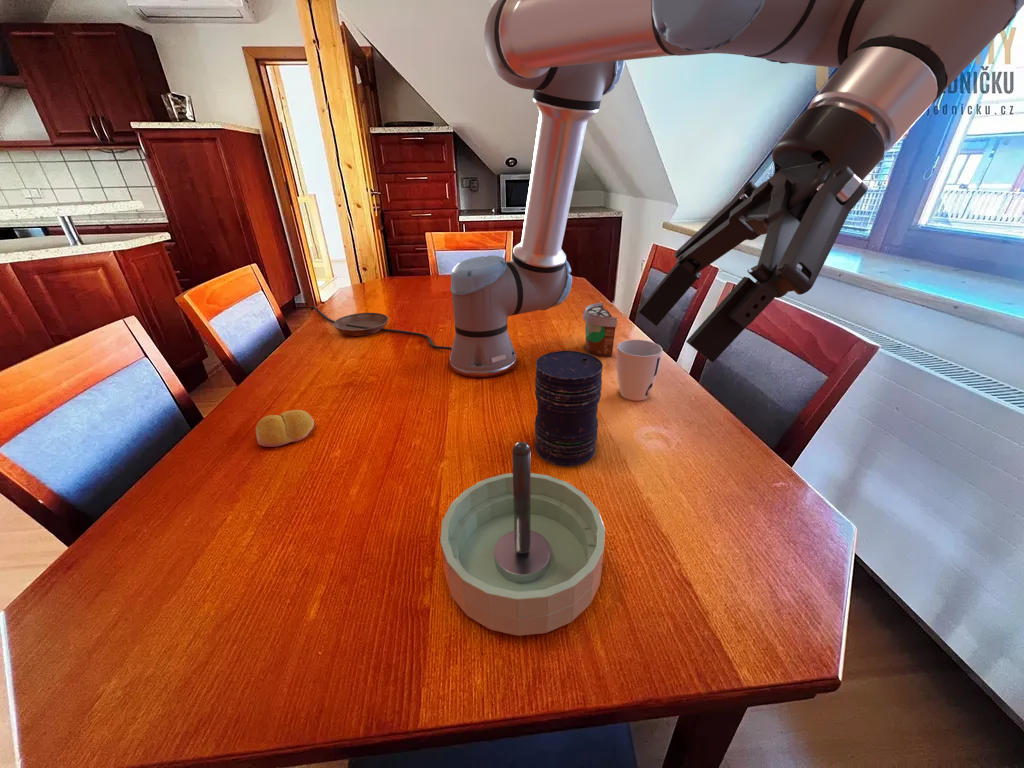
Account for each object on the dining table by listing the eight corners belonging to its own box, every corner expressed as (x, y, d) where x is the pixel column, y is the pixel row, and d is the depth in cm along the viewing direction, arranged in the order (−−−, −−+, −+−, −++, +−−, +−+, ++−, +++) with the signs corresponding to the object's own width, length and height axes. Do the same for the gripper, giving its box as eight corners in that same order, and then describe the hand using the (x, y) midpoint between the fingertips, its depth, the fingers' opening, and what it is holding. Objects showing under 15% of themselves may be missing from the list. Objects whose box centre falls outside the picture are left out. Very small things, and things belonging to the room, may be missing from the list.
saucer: (400, 326, 122) (399, 317, 121) (359, 342, 111) (357, 333, 110) (366, 318, 129) (364, 309, 128) (324, 333, 118) (322, 323, 117)
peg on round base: (483, 557, 49) (475, 442, 41) (524, 529, 52) (523, 418, 45) (520, 594, 44) (518, 473, 37) (562, 561, 48) (568, 444, 41)
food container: (576, 340, 109) (578, 303, 105) (599, 339, 110) (602, 302, 105) (587, 360, 98) (590, 319, 94) (613, 359, 99) (617, 317, 94)
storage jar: (555, 474, 62) (558, 385, 56) (523, 440, 70) (522, 358, 63) (609, 454, 66) (618, 368, 60) (573, 424, 74) (577, 345, 67)
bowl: (417, 557, 50) (410, 520, 47) (527, 489, 60) (527, 455, 57) (515, 679, 38) (514, 638, 35) (632, 568, 48) (638, 529, 45)
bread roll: (319, 436, 73) (313, 416, 71) (260, 454, 68) (253, 434, 66) (310, 415, 79) (304, 396, 77) (256, 430, 74) (249, 411, 73)
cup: (657, 406, 79) (664, 357, 75) (612, 402, 81) (617, 354, 76) (653, 386, 86) (660, 340, 82) (612, 383, 88) (617, 338, 83)
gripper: (1045, 132, 25) (770, 403, 30) (781, 178, 48) (654, 326, 54) (973, 38, 23) (696, 344, 29) (736, 133, 46) (609, 291, 52)
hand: (668, 333), depth 41 cm, fingers open, 13 cm apart
